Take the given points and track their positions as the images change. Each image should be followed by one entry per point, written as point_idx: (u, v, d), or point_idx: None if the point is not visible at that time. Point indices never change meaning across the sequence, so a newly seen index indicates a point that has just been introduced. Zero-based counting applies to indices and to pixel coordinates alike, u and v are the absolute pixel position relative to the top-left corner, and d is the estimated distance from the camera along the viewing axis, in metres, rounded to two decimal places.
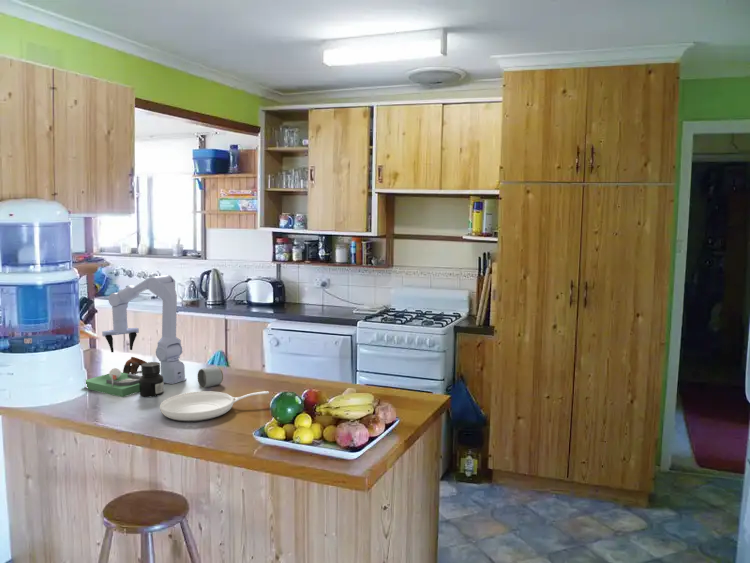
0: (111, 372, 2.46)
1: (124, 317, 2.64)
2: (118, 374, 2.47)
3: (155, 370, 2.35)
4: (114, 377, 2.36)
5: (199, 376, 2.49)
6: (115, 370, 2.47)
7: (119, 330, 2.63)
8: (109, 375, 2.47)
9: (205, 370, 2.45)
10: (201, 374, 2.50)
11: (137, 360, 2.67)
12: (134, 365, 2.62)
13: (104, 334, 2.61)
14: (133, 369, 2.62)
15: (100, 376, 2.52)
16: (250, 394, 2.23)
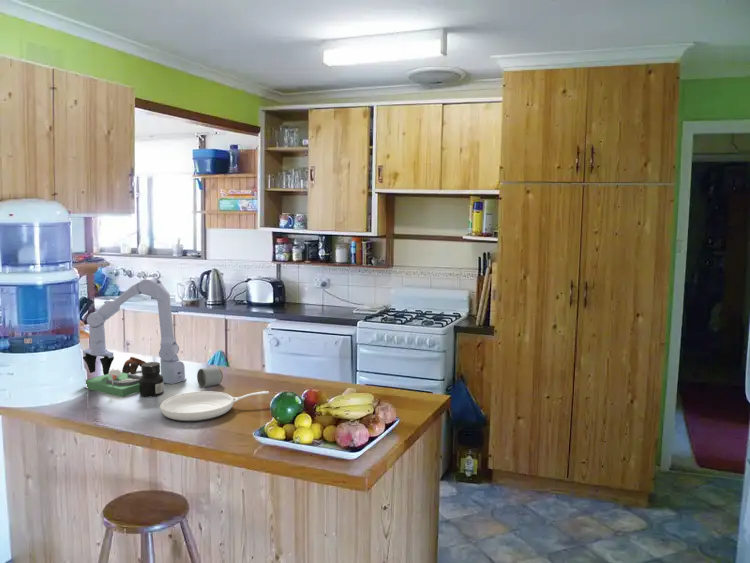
0: (111, 372, 2.46)
1: (104, 337, 2.52)
2: (118, 374, 2.47)
3: (155, 370, 2.35)
4: (114, 377, 2.36)
5: (199, 376, 2.50)
6: (115, 370, 2.47)
7: (90, 351, 2.50)
8: (109, 375, 2.47)
9: (205, 370, 2.46)
10: (201, 374, 2.50)
11: (136, 360, 2.67)
12: (133, 365, 2.62)
13: (84, 352, 2.54)
14: (132, 369, 2.62)
15: (100, 376, 2.52)
16: (250, 394, 2.23)
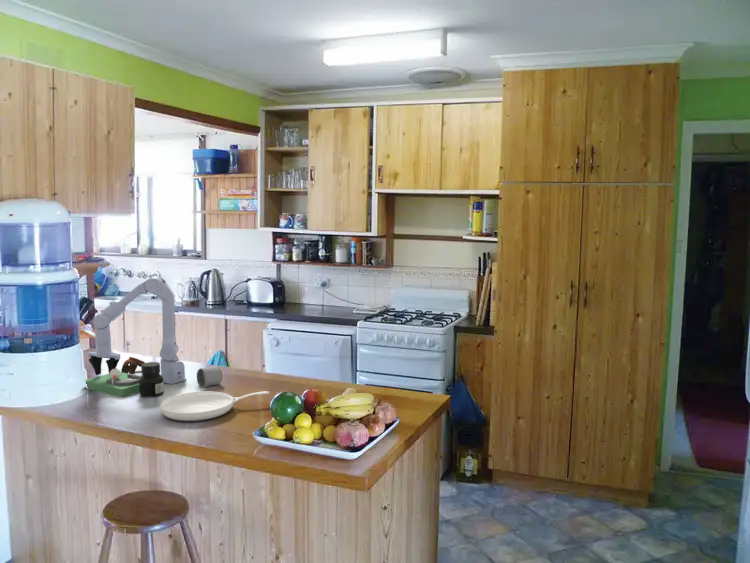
0: (111, 372, 2.46)
1: (110, 339, 2.50)
2: (118, 374, 2.47)
3: (155, 370, 2.35)
4: (114, 377, 2.36)
5: (198, 376, 2.50)
6: (115, 370, 2.47)
7: (97, 353, 2.48)
8: (109, 374, 2.47)
9: (204, 370, 2.46)
10: (200, 374, 2.50)
11: (135, 360, 2.67)
12: (132, 365, 2.62)
13: (89, 355, 2.52)
14: (131, 369, 2.62)
15: (100, 376, 2.52)
16: (250, 394, 2.23)
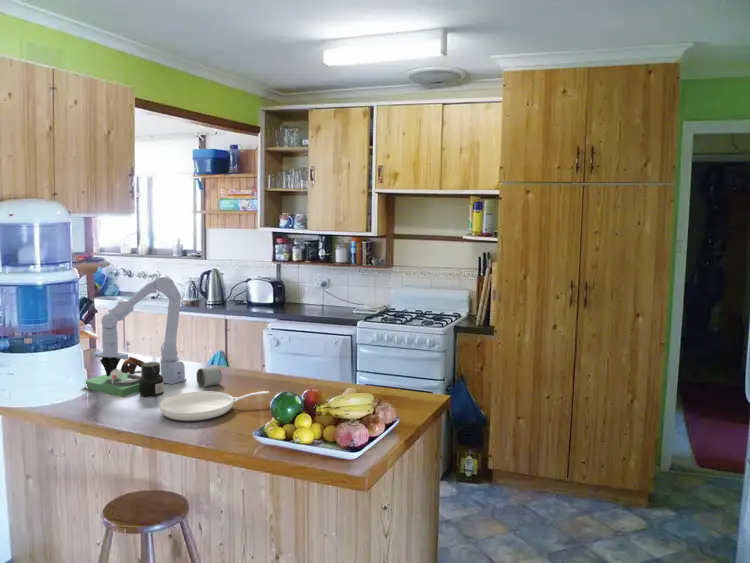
0: (113, 374, 2.45)
1: (117, 339, 2.48)
2: (119, 377, 2.46)
3: (155, 370, 2.35)
4: (114, 377, 2.36)
5: (198, 376, 2.50)
6: (117, 373, 2.46)
7: (104, 354, 2.45)
8: (110, 375, 2.46)
9: (204, 370, 2.46)
10: (200, 374, 2.50)
11: (135, 360, 2.67)
12: (132, 365, 2.62)
13: (93, 355, 2.48)
14: (131, 369, 2.62)
15: (100, 376, 2.52)
16: (250, 394, 2.23)
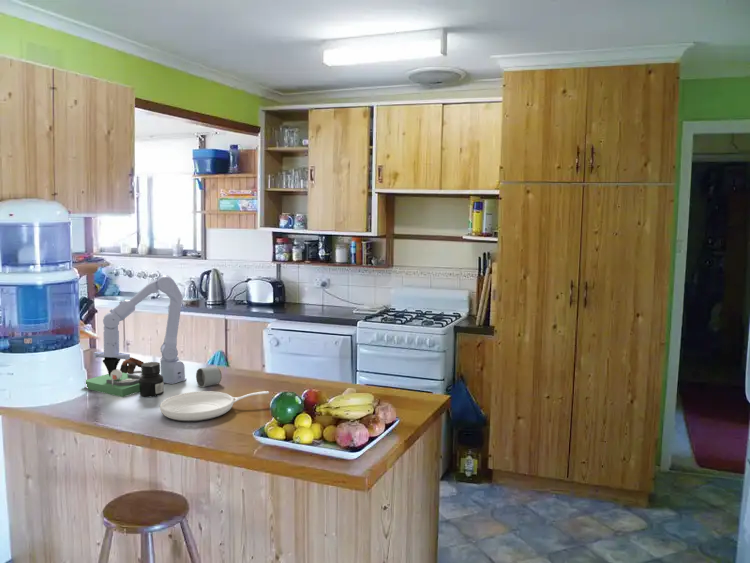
0: None
1: (118, 339, 2.48)
2: (119, 378, 2.46)
3: (155, 370, 2.35)
4: (114, 377, 2.36)
5: (198, 375, 2.50)
6: (117, 374, 2.45)
7: (105, 354, 2.45)
8: (110, 375, 2.46)
9: (204, 369, 2.46)
10: (200, 373, 2.51)
11: (134, 360, 2.67)
12: (131, 365, 2.62)
13: (94, 355, 2.47)
14: (130, 369, 2.62)
15: (100, 376, 2.52)
16: (250, 394, 2.23)
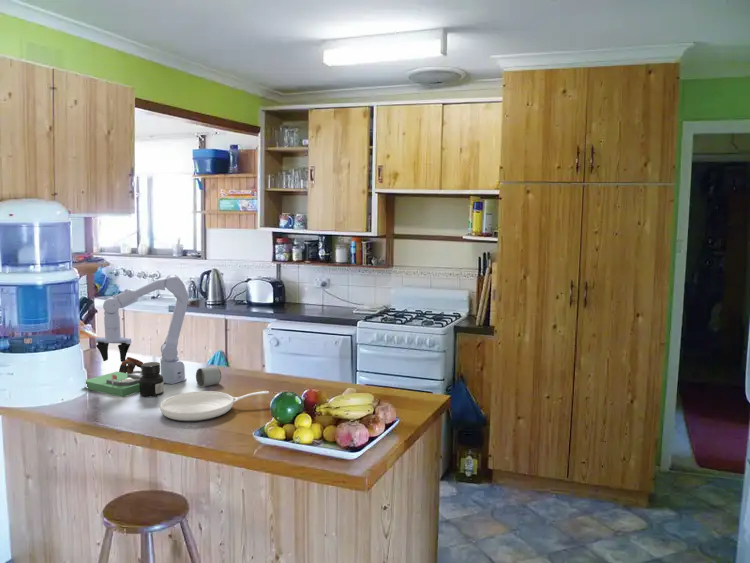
0: None
1: (119, 324, 2.47)
2: None
3: (155, 370, 2.35)
4: (114, 377, 2.36)
5: (197, 375, 2.50)
6: None
7: (106, 339, 2.44)
8: None
9: (203, 369, 2.46)
10: (199, 373, 2.51)
11: (133, 360, 2.66)
12: (130, 365, 2.62)
13: (96, 341, 2.47)
14: (129, 369, 2.62)
15: (100, 376, 2.52)
16: (250, 394, 2.23)
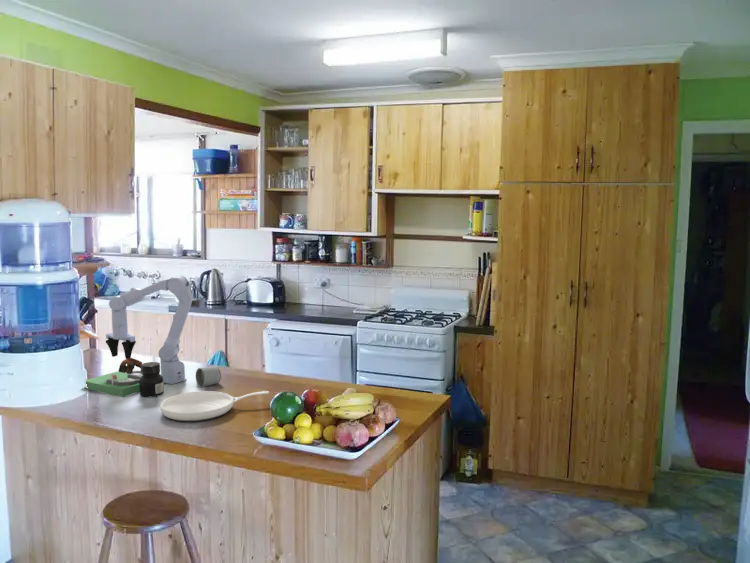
0: None
1: (126, 321, 2.53)
2: None
3: (155, 370, 2.35)
4: (114, 377, 2.36)
5: (197, 375, 2.50)
6: None
7: (113, 335, 2.51)
8: None
9: (203, 369, 2.46)
10: (199, 373, 2.51)
11: (132, 360, 2.66)
12: (130, 365, 2.62)
13: (106, 336, 2.55)
14: (129, 369, 2.62)
15: (100, 376, 2.52)
16: (250, 394, 2.23)
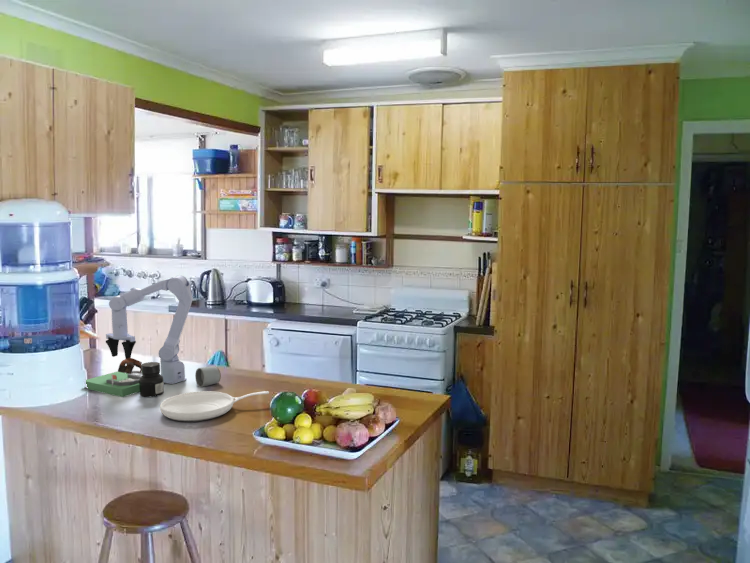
0: None
1: (126, 321, 2.53)
2: None
3: (155, 370, 2.35)
4: (114, 377, 2.36)
5: (197, 375, 2.51)
6: None
7: (113, 335, 2.51)
8: None
9: (203, 369, 2.47)
10: (199, 373, 2.51)
11: (132, 360, 2.66)
12: (129, 365, 2.62)
13: (106, 336, 2.55)
14: (128, 369, 2.62)
15: (100, 376, 2.52)
16: (250, 394, 2.23)
